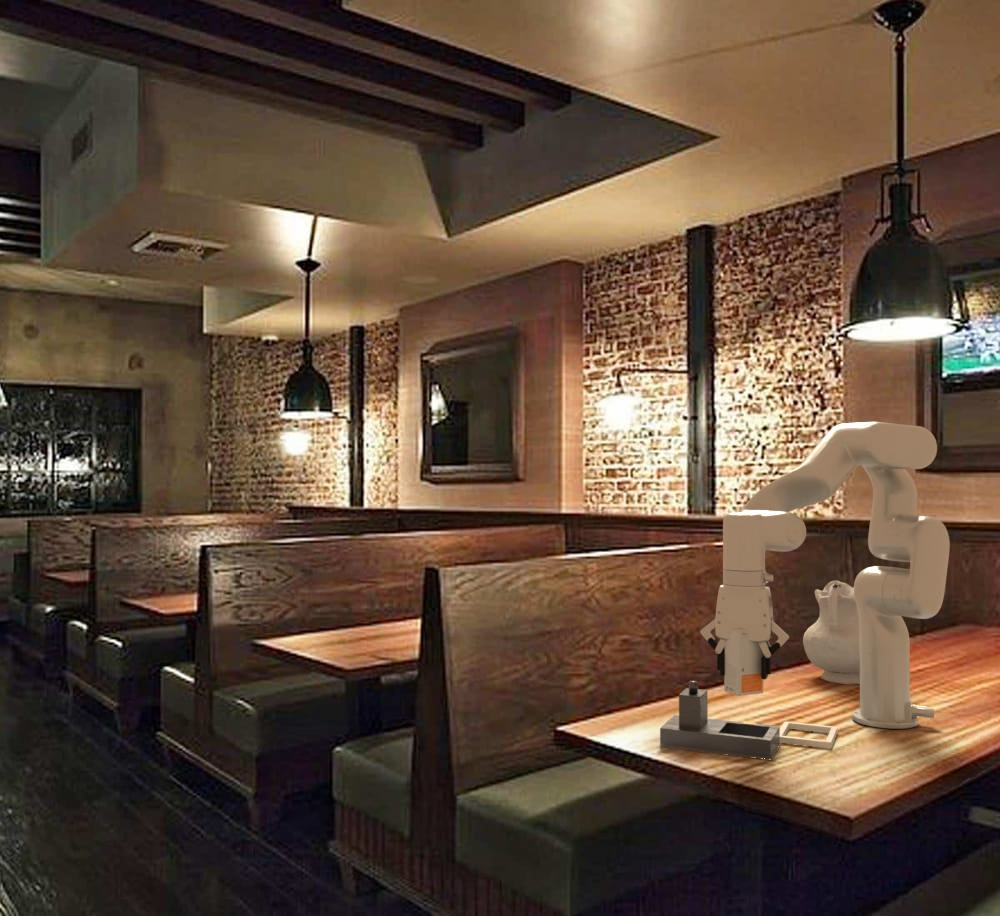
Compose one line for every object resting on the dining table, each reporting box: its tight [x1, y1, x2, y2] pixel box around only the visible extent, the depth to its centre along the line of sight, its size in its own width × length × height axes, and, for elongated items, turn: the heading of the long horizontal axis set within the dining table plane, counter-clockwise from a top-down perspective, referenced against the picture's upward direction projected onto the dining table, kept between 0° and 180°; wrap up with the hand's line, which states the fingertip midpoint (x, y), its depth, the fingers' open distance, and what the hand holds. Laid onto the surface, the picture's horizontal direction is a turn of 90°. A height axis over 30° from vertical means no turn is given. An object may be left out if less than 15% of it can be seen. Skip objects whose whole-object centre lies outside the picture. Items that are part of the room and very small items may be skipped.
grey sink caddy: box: [659, 680, 781, 760], centre depth 179 cm, size 20×10×12 cm, turn 65°
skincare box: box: [723, 629, 764, 697], centre depth 177 cm, size 6×4×12 cm
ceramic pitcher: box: [802, 579, 860, 686], centre depth 235 cm, size 22×20×25 cm
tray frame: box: [780, 721, 838, 750], centre depth 184 cm, size 10×12×1 cm
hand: (744, 675), depth 177 cm, fingers closed on skincare box, 6 cm apart
